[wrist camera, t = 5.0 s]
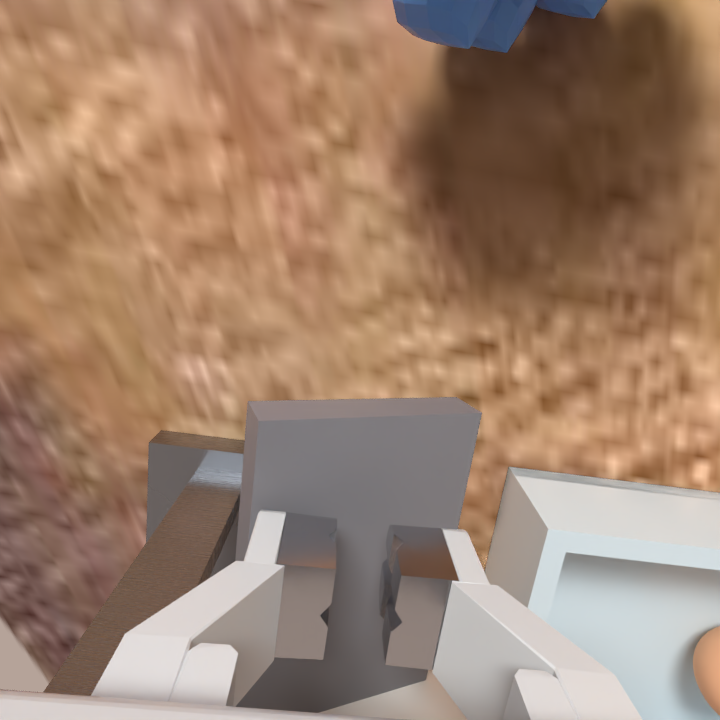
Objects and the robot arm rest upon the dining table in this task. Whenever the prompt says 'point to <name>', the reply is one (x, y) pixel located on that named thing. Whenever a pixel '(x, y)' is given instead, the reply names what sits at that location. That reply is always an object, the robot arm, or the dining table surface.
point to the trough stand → (166, 546)
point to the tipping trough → (356, 533)
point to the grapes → (481, 19)
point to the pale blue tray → (616, 576)
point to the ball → (708, 667)
